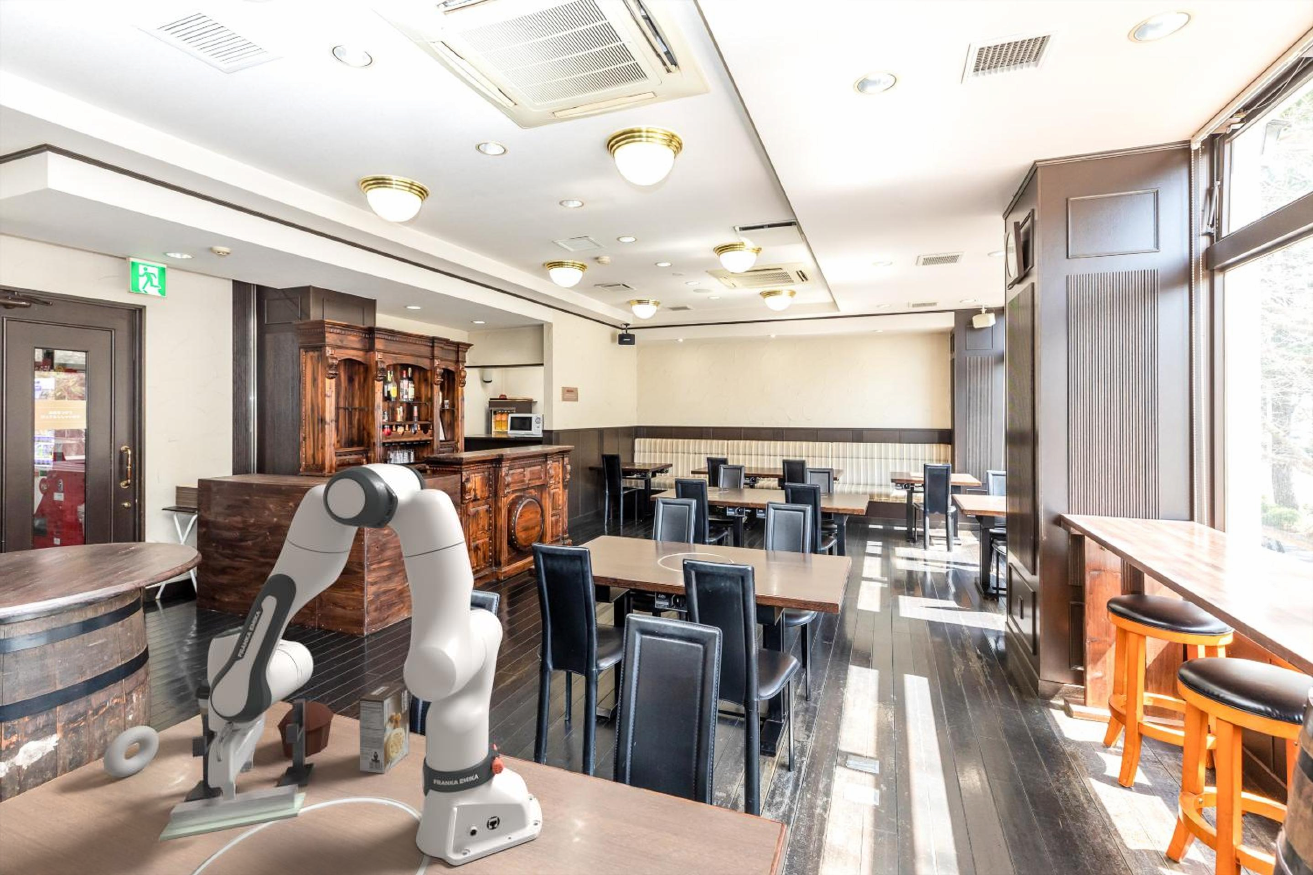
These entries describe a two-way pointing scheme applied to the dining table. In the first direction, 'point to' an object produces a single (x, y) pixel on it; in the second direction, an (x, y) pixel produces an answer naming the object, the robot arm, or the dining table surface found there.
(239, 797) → the rail
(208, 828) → the mat
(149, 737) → the donut
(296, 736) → the rack
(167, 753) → the dining table surface
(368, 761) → the coffee box
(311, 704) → the muffin
